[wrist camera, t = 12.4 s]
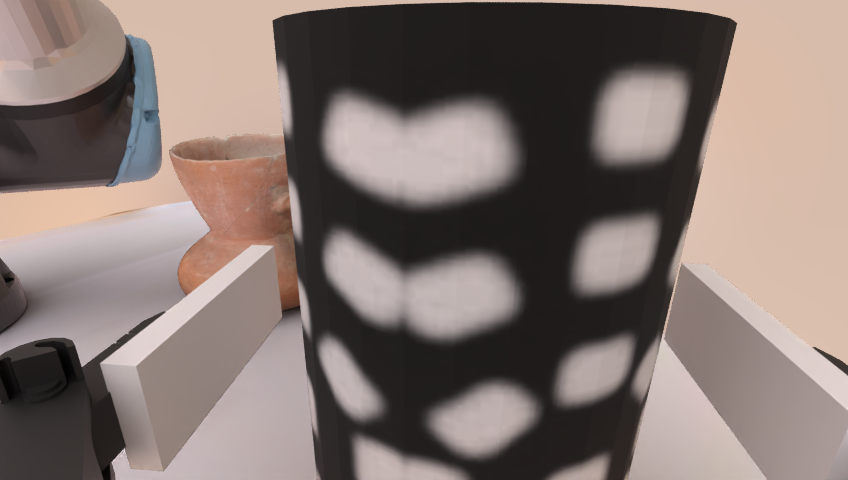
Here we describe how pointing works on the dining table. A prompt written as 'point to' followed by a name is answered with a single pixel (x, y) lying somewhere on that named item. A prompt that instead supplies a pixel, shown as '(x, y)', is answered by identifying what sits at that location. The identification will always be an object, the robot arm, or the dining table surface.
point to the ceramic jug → (238, 205)
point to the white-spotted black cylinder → (490, 227)
